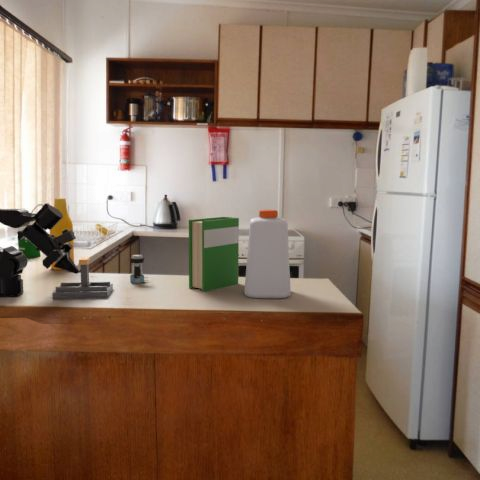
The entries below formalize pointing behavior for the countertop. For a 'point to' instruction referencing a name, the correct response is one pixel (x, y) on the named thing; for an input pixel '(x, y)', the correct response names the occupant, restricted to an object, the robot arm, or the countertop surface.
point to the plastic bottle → (268, 257)
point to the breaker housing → (82, 290)
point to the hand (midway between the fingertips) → (78, 272)
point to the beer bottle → (62, 225)
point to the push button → (137, 269)
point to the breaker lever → (84, 271)
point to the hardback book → (213, 252)
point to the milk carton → (27, 245)
